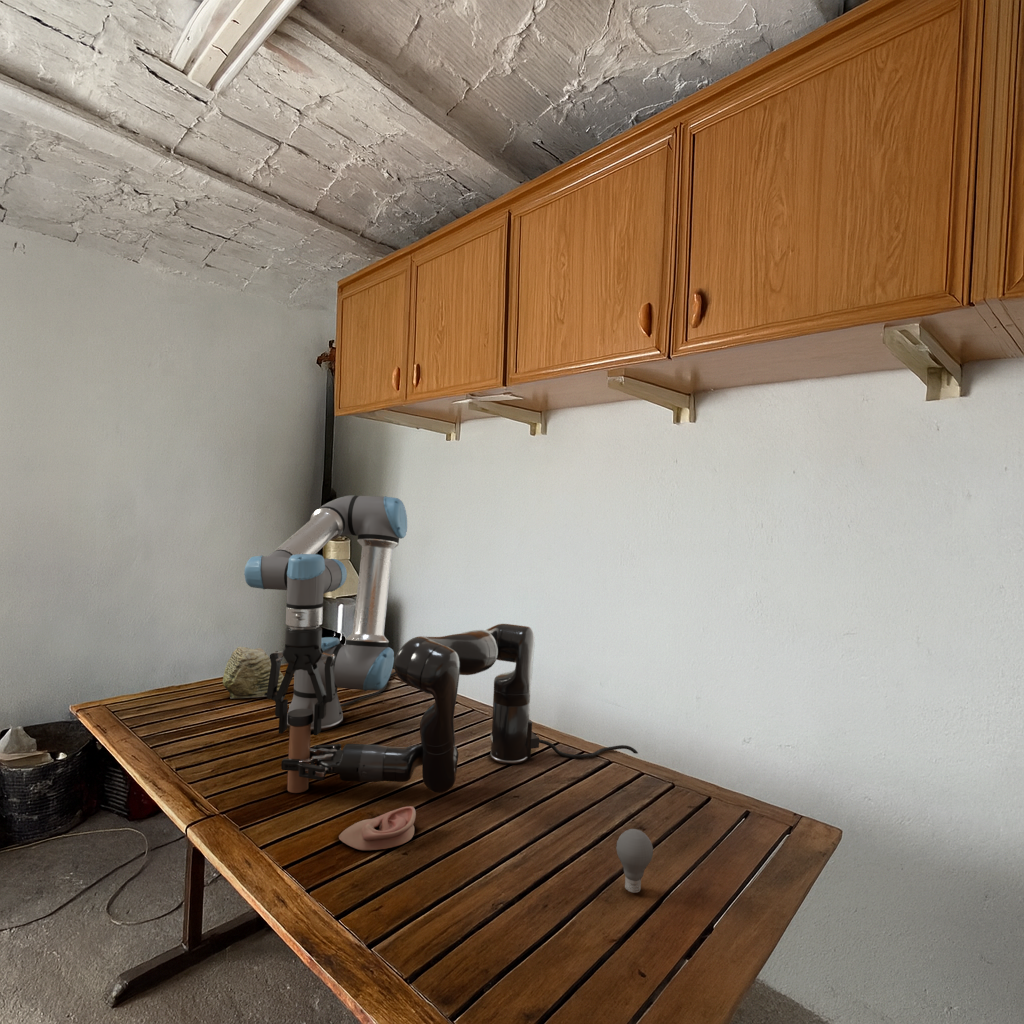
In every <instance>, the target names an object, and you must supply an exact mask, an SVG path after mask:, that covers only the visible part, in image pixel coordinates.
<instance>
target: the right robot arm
mask: <svg viewBox="0 0 1024 1024" xmlns="http://www.w3.org/2000/svg"><path fill="white" fill-rule="evenodd" d="M535 647H536V635H535V631H534V629H533V628H532V627H530V626H526V625H520V624H514V623H513V624H511V623H497V624H495V625H492V626H491V627H489V628H486V629H475V630H469V631H464V632H460V633H454V634H448V635H443V636H425V635H423V636H422V635H420V636H419V635H418V636H415V637H412V638H411V639H409V640H407V641H406V642H405V643H404V644H403V645H402V646H401V647H400V648H399V650H398V651H397V653H396V656H395V657H394V663H393V668H394V672H396V674H395V675H396V676H397V678H398V679H399V680H401V681H402V682H403V683H404V684H406V685H409V686H410V687H413V688H414V689H417V690H418V691H421V692H423V693H425V694H429V695H432V697H433V699H434V702H433V704H431V705H430V706H429V707H428V708H427V709H426V710H425V712H424V713H423V714H422V717H421V719H420V723H419V735H420V742H421V743H420V744H414V745H410V746H386V745H381V744H365V743H364V744H363V743H345V745H344V746H343V747H342V744H341V743H332V744H331V743H329V744H318V745H317V744H315V745H314V746H313V747H310V759H302V760H300V759H288V758H283V759H282V760H281V763H280V769H281V770H282V771H288V770H290V771H299V777H304V778H309V780H316V781H322V782H323V781H325V780H326V775H333V774H338V775H339V778H340V780H341V781H343V782H363V783H364V782H365V783H379V782H391V783H392V782H394V783H395V782H396V783H406V782H409V781H410V780H411V779H412V777H413V774H414V772H415V770H416V769H417V768H418V767H420V766H422V767H421V774H422V775H421V777H422V782H423V784H424V786H425V787H426V788H427V789H428V790H429V791H431V792H433V793H436V794H443V793H447V792H448V791H450V790H451V789H452V788H453V787H454V785H455V783H456V780H457V772H458V771H457V770H458V762H459V750H458V748H457V746H456V732H455V712H456V711H455V710H456V709H455V708H456V705H457V697H458V691H459V681H460V676H472V675H477V674H479V673H483V672H485V671H488V670H489V669H490V668H492V667H493V666H494V665H495V663H496V661H501V662H506V663H507V662H508V663H514V664H515V667H514V670H512V671H508V672H502V673H499V674H497V675H496V676H495V677H494V680H493V700H492V719H491V733H490V740H491V742H490V745H491V746H490V754H489V755H490V756H489V757H490V759H491V760H492V761H494V762H496V763H499V764H504V765H518V764H523V763H525V762H526V761H527V760H531V759H532V750H533V749H539V748H540V744H543V745H546V746H547V747H549V748H551V749H552V750H553V751H554V753H555V754H557V755H558V756H561V757H563V758H568V759H588V758H594V757H596V756H598V755H600V754H602V753H604V752H610V751H616V750H629V751H630V752H632V753H633V754H636V755H637V754H639V752H638V751H637V750H636V749H635V748H634V747H632V746H630V745H627V744H619V745H614V746H608V747H602V748H599V749H598V750H596V751H594V752H591V753H580V754H574V753H573V754H571V753H566V752H563V751H561V750H559V749H558V748H557V747H556V745H554V743H552V742H550V741H548V740H545V739H540V737H539V736H538V735H537V734H535V733H534V732H533V721H532V720H531V719H530V710H531V709H530V708H531V687H532V680H533V679H532V678H533V670H534V669H533V668H534V658H535V657H534V656H535V649H536V648H535ZM306 763H310V764H306Z"/></svg>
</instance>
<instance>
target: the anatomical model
mask: <svg viewBox="0 0 1024 1024" xmlns="http://www.w3.org/2000/svg"><path fill="white" fill-rule="evenodd" d="M416 816H417V812H416V809H415V807H414V806H413V805H412V806H410V805H407V806H403V807H399V808H395V809H393V810H390V811H388V812H385V813H383V814H380V815H378V816H376V817H373V818H367V819H363V820H360V821H356V822H354V824H351V825H350V826H348V827H346V828H345V829H344V830H343V831H342V832H341V833H340V834H339V835H338V839H339V840H340V841H341V842H342V843H344V844H345V845H347V846H349V847H351V848H353V849H355V850H359V851H378V850H386V849H391V848H395V847H398V846H401V845H404V844H405V843H407V842H409V841H410V840H412V839H413V837H414V835H415V826H414V823H415V821H416Z"/></svg>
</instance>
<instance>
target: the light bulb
mask: <svg viewBox="0 0 1024 1024" xmlns="http://www.w3.org/2000/svg"><path fill="white" fill-rule="evenodd" d="M615 849H616V854H617V857H618V859H619V861H620V863H621V865H622V867H623V873H624V874H623V875H624V876H625V878H624V888H625V890H627V891H628V892H630V893H634V894H635V893H639V892H640V891H641V889H642V887H641V886H642V879H643V877H644V875H645V871H646V868H647V867H648V866H649V864H650V863H651V861H652V859H653V855H654V847H653V843H652V841H651V838H649V836H648V835H647V834H646V833H645V832H643V831H642V830H641V829H636V828H629V829H627V830H625V831H623V832H622V833H621V834H620V835H619V837H618V839H617V841H616V847H615Z"/></svg>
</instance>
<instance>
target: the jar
mask: <svg viewBox="0 0 1024 1024" xmlns="http://www.w3.org/2000/svg"><path fill="white" fill-rule="evenodd" d="M288 729H289V730H288V732H289V733H288V754H287V755H288V758H287V759H300V760H302V759H310V748H311V736H312V735H311V734H312V732H311V724H308V725H304V726H292V725H290V726H289V728H288ZM306 764H310V763H306ZM286 782H287V784H286V790H287V792H288V793H292V794H299V793H304V792H306V791H307V790H309V787H310V786H309V785H310V778H304V777H299V771H290V770H287V780H286Z"/></svg>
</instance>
